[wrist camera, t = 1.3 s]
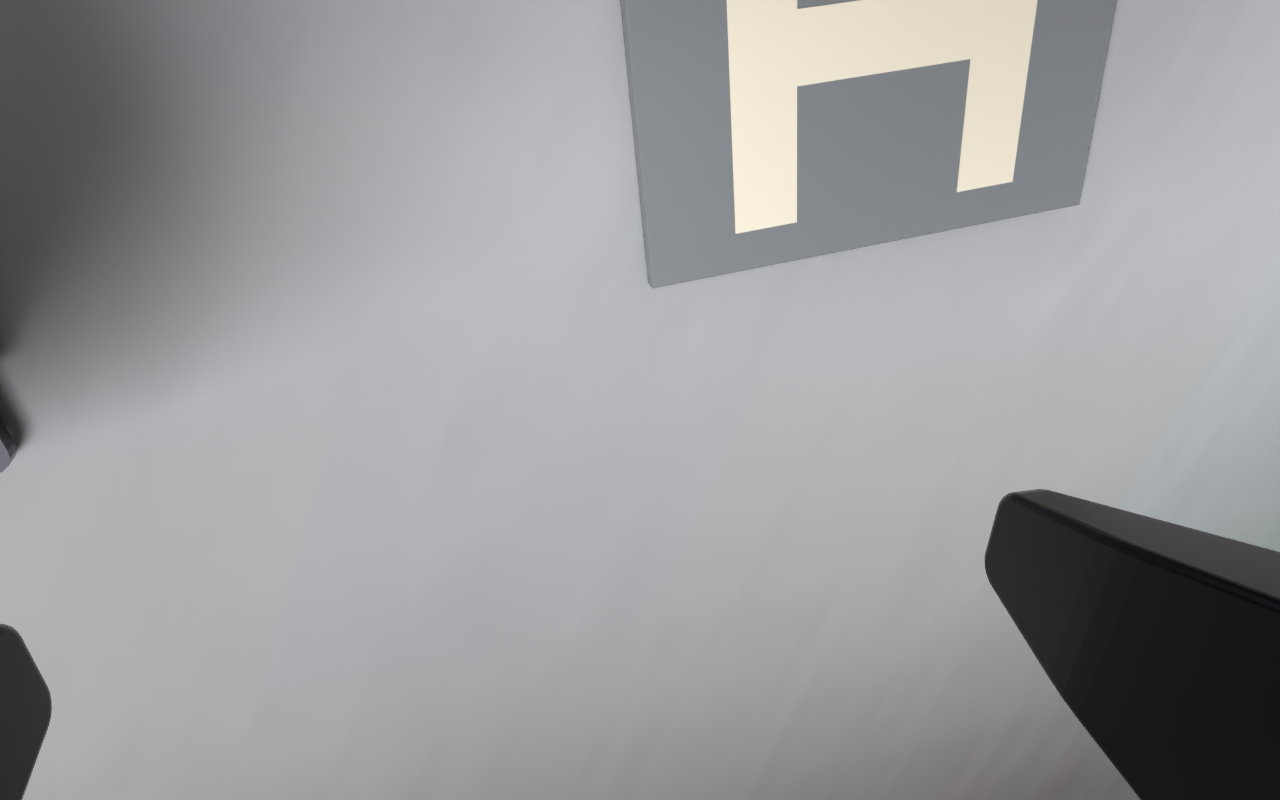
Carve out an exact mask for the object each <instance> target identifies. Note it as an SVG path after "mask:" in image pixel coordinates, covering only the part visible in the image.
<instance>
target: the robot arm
mask: <svg viewBox="0 0 1280 800" xmlns="http://www.w3.org/2000/svg"><path fill="white" fill-rule="evenodd" d="M16 451H17V448H16V445H15V442H14V440H13V438H12V437H11V435H10V433H9V431H8V430H7V428H6V426H5V425H4V423H3V421H2V420H1V418H0V472H3V471H4V470H5V469H6V468H7V467H8V466H9V464H10V463H11V461H12V460H13V459H14V457H15V455H16ZM985 569H986V574H987V577H988V579H989V582H990V584H991V586H992V587H993V589H994V590H995V592H996V594H997V595H998V597H999V598H1000V600H1001V602H1002V603H1003V605H1004V607H1005V608H1006V610H1007V611H1008V613H1009V615H1010V616H1011V618H1012V619H1013V621H1014V623H1015V624H1016V626H1017V627H1018V629H1019V631H1020V632H1021V634H1022V635H1023V637H1024V639H1025V640H1026V642H1027V643H1028V645H1029V647H1030V648H1031V650H1032V651H1033V653H1034V655H1035V656H1036V658H1037V659H1038V661H1039V663H1040V664H1041V666H1042V667H1043V669H1044V671H1045V672H1046V674H1047V675H1048V677H1049V678H1050V680H1051V681H1052V683H1053V684H1054V686H1055V687H1056V689H1057V690H1058V692H1059V693H1060V695H1061V696H1062V698H1063V699H1064V701H1065V702H1066V703H1067V705H1068V706H1069V707H1070V709H1071V710H1072V712H1073V713H1074V714H1075V716H1076V717H1077V718H1078V720H1079V721H1080V722H1081V724H1082V725H1083V726H1084V727H1085V729H1086V730H1087V731H1088V733H1089V734H1090V735H1091V736H1092V738H1093V739H1094V740H1095V742H1096V743H1097V744H1098V745H1099V747H1100V748H1101V749H1102V751H1103V752H1104V753H1105V754H1106V756H1107V757H1108V758H1109V760H1110V761H1111V762H1112V763H1113V765H1114V766H1115V767H1116V769H1117V770H1118V771H1119V773H1120V774H1121V775H1122V776H1123V778H1124V779H1125V780H1126V782H1127V783H1128V784H1129V785H1130V787H1131V788H1132V789H1133V791H1134V792H1135V793H1136V794H1137V796H1138V797H1139V798H1140V800H1280V552H1277V551H1274V550H1270V549H1266V548H1262V547H1259V546H1255V545H1251V544H1247V543H1244V542H1240V541H1236V540H1233V539H1229V538H1225V537H1221V536H1218V535H1214V534H1210V533H1206V532H1203V531H1199V530H1195V529H1192V528H1188V527H1184V526H1180V525H1177V524H1173V523H1169V522H1165V521H1162V520H1158V519H1154V518H1151V517H1147V516H1143V515H1139V514H1136V513H1132V512H1128V511H1124V510H1121V509H1117V508H1113V507H1110V506H1106V505H1102V504H1098V503H1095V502H1091V501H1087V500H1083V499H1080V498H1076V497H1072V496H1069V495H1065V494H1061V493H1057V492H1054V491H1050V490H1043V489H1036V490H1028V491H1020V492H1012V493H1009V494H1007V495H1006V496H1004V497H1003V498H1002V500H1001V501H1000V503H999V506H998V509H997V512H996V516H995V520H994V523H993V527H992V531H991V534H990V538H989V542H988V545H987V549H986V553H985ZM51 711H52V708H51V697H50V692H49V689H48V687H47V685H46V683H45V681H44V679H43V677H42V675H41V673H40V671H39V670H38V668H37V666H36V664H35V662H34V660H33V658H32V656H31V654H30V653H29V651H28V649H27V647H26V645H25V643H24V641H23V639H22V637H21V636H20V634H19V633H18V631H16V630H15V629H14V628H13V627H11V626H8V625H5V624H0V800H22V798H23V795H24V793H25V790H26V787H27V784H28V782H29V779H30V776H31V773H32V771H33V768H34V765H35V762H36V759H37V757H38V754H39V751H40V748H41V746H42V743H43V740H44V737H45V735H46V732H47V729H48V726H49V722H50V718H51Z"/></svg>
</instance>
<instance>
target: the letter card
mask: <svg viewBox="0 0 1280 800" xmlns="http://www.w3.org/2000/svg"><path fill="white" fill-rule="evenodd" d="M1116 1H1117V0H620V3H621V13H622V23H623V33H624V43H625V54H626V64H627V74H628V84H629V94H630V104H631V114H632V124H633V135H634V145H635V155H636V165H637V175H638V185H639V195H640V205H641V216H642V226H643V236H644V246H645V256H646V266H647V276H648V283H649V284H650V286H651V287H652V288H657V287H662V286H667V285H672V284H678V283H683V282H688V281H693V280H698V279H703V278H708V277H713V276H718V275H723V274H728V273H734V272H739V271H744V270H749V269H754V268H759V267H764V266H769V265H774V264H779V263H784V262H790V261H795V260H800V259H805V258H810V257H815V256H820V255H825V254H830V253H835V252H840V251H846V250H851V249H856V248H861V247H866V246H871V245H876V244H881V243H886V242H891V241H896V240H901V239H907V238H912V237H917V236H922V235H927V234H932V233H937V232H942V231H947V230H952V229H957V228H963V227H968V226H973V225H978V224H983V223H988V222H993V221H998V220H1003V219H1008V218H1013V217H1019V216H1024V215H1029V214H1034V213H1039V212H1044V211H1049V210H1054V209H1059V208H1064V207H1069V206H1075V205H1079V203H1080V198H1081V192H1082V187H1083V181H1084V176H1085V170H1086V165H1087V160H1088V154H1089V149H1090V143H1091V138H1092V132H1093V127H1094V121H1095V116H1096V110H1097V105H1098V99H1099V94H1100V89H1101V83H1102V78H1103V72H1104V67H1105V61H1106V56H1107V50H1108V45H1109V39H1110V34H1111V29H1112V23H1113V18H1114V12H1115V7H1116Z"/></svg>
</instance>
